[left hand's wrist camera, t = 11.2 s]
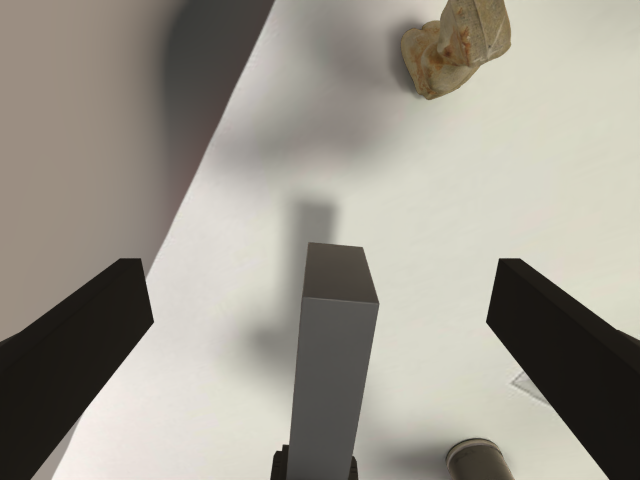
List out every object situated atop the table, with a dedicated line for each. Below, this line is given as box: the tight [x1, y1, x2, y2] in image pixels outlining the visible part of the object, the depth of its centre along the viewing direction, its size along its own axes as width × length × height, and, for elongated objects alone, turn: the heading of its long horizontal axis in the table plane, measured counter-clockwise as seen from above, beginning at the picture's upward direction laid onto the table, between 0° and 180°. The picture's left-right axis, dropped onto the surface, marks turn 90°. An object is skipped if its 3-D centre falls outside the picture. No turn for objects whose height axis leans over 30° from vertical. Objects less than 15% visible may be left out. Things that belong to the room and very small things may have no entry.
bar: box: [286, 242, 379, 480], centre depth 29 cm, size 23×5×9 cm, turn 175°
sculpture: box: [401, 0, 511, 100], centre depth 30 cm, size 6×7×15 cm
